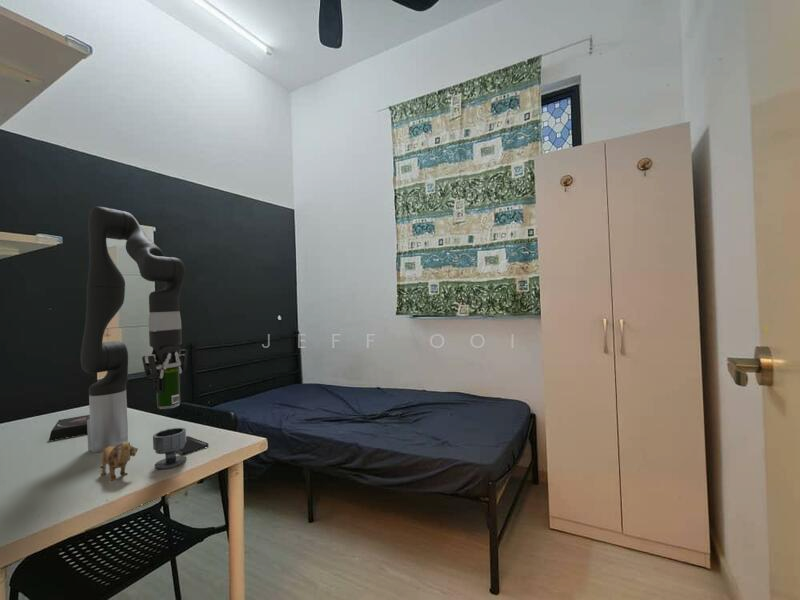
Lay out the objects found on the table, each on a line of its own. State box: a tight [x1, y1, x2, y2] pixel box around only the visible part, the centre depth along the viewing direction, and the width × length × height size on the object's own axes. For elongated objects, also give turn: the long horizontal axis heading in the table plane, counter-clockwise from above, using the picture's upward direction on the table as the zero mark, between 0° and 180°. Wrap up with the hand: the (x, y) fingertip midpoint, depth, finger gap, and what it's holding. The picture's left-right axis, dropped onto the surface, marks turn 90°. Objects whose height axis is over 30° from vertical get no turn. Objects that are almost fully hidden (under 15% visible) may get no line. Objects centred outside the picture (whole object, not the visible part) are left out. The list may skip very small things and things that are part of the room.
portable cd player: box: [48, 414, 90, 441], centre depth 134 cm, size 16×17×4 cm
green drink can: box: [156, 362, 181, 410], centre depth 99 cm, size 5×5×12 cm
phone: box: [176, 435, 209, 456], centre depth 111 cm, size 8×1×15 cm
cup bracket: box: [152, 427, 187, 471], centre depth 99 cm, size 7×7×8 cm
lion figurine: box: [100, 441, 139, 482], centre depth 93 cm, size 15×5×9 cm, turn 63°
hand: (167, 389), depth 99 cm, fingers closed on green drink can, 5 cm apart
